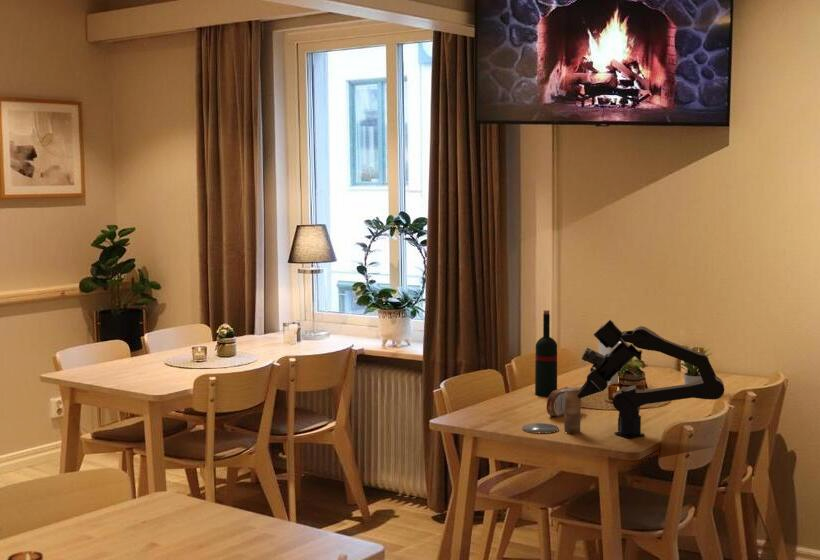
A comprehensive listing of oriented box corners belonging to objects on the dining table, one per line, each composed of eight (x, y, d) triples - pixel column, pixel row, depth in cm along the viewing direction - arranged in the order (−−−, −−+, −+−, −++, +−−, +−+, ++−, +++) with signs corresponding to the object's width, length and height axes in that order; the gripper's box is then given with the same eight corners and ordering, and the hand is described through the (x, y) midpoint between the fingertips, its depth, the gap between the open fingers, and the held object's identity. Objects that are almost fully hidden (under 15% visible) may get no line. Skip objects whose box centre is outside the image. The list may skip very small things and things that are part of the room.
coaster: (565, 430, 315) (565, 428, 315) (536, 435, 309) (536, 433, 309) (543, 423, 324) (543, 421, 324) (515, 427, 319) (515, 426, 319)
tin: (569, 409, 343) (569, 384, 342) (577, 410, 341) (578, 385, 340) (545, 418, 331) (545, 392, 330) (553, 419, 329) (554, 393, 328)
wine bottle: (562, 392, 369) (563, 309, 366) (552, 397, 360) (552, 312, 357) (542, 390, 373) (542, 307, 370) (531, 395, 364) (531, 311, 361)
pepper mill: (583, 432, 312) (584, 390, 311) (571, 434, 310) (571, 392, 308) (573, 429, 316) (573, 387, 315) (561, 431, 314) (561, 389, 312)
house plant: (721, 389, 371) (722, 344, 369) (713, 397, 359) (714, 351, 357) (681, 386, 377) (682, 342, 376) (672, 393, 365) (673, 348, 363)
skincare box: (596, 380, 389) (597, 339, 387) (611, 378, 392) (611, 338, 390) (610, 384, 382) (610, 343, 380) (624, 382, 384) (625, 341, 383)
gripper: (600, 334, 317) (564, 369, 321) (595, 344, 299) (557, 380, 303) (626, 361, 316) (589, 395, 320) (623, 372, 298) (584, 408, 302)
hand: (579, 394), depth 311 cm, fingers open, 9 cm apart
